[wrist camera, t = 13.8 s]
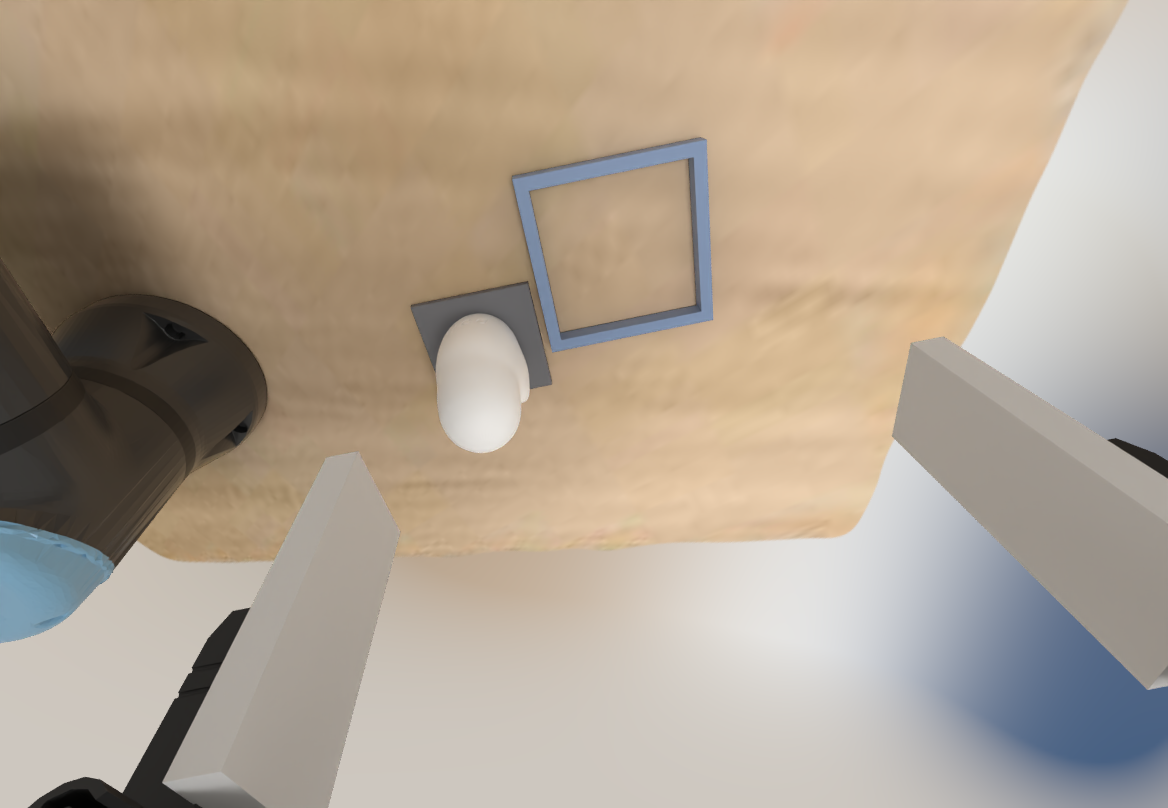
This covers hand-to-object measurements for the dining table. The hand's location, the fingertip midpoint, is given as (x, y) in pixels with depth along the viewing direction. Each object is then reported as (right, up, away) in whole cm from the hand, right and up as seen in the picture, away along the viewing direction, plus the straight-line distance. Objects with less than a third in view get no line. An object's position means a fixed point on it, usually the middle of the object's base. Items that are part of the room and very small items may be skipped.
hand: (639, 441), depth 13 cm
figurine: (-10, +6, +34) cm, 36 cm away
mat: (-10, +6, +34) cm, 36 cm away
